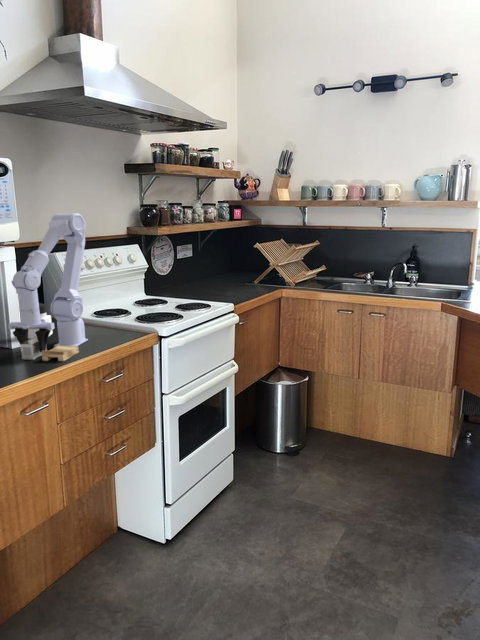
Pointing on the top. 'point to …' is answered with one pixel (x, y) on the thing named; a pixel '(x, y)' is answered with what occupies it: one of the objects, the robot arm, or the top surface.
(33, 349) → the housing
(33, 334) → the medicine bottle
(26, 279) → the robot arm
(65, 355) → the stand
